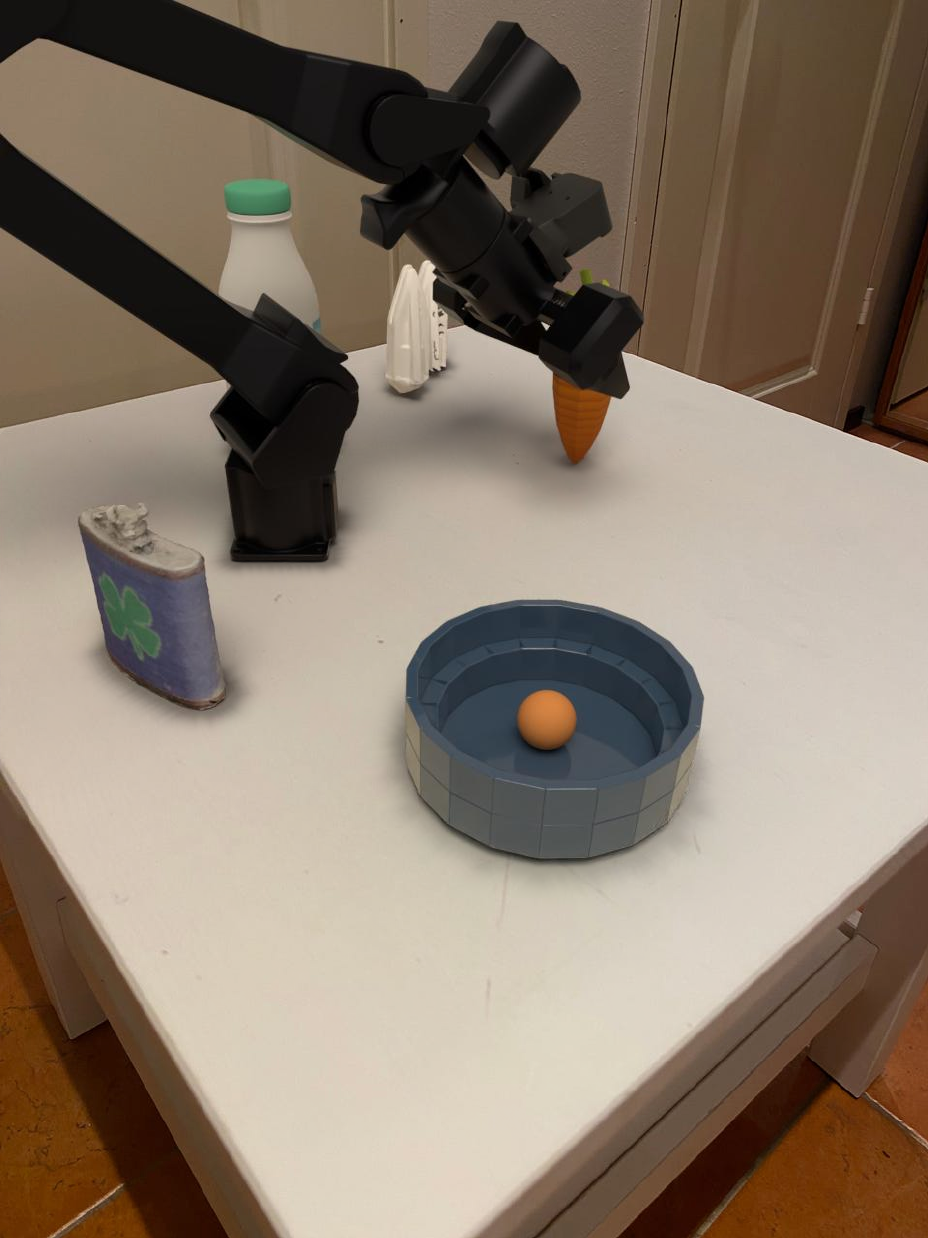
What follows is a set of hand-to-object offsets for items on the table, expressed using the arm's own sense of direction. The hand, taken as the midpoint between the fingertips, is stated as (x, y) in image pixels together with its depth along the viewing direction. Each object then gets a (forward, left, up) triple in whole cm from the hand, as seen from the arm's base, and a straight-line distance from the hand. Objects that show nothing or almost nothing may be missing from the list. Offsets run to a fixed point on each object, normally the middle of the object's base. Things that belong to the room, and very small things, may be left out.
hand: (586, 372), depth 71 cm
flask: (-27, -27, -8) cm, 39 cm away
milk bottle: (-24, +3, -8) cm, 26 cm away
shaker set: (-13, +18, -8) cm, 24 cm away
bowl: (-6, -34, -8) cm, 36 cm away
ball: (-6, -34, -5) cm, 35 cm away
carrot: (0, 0, -8) cm, 8 cm away
